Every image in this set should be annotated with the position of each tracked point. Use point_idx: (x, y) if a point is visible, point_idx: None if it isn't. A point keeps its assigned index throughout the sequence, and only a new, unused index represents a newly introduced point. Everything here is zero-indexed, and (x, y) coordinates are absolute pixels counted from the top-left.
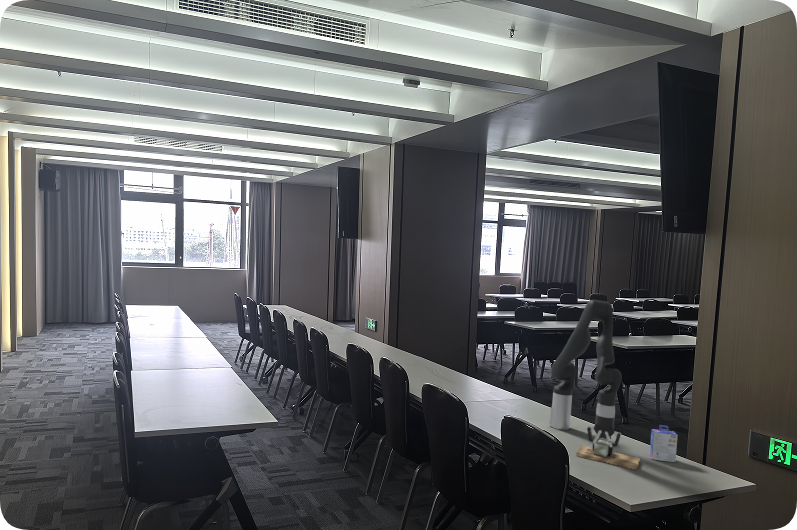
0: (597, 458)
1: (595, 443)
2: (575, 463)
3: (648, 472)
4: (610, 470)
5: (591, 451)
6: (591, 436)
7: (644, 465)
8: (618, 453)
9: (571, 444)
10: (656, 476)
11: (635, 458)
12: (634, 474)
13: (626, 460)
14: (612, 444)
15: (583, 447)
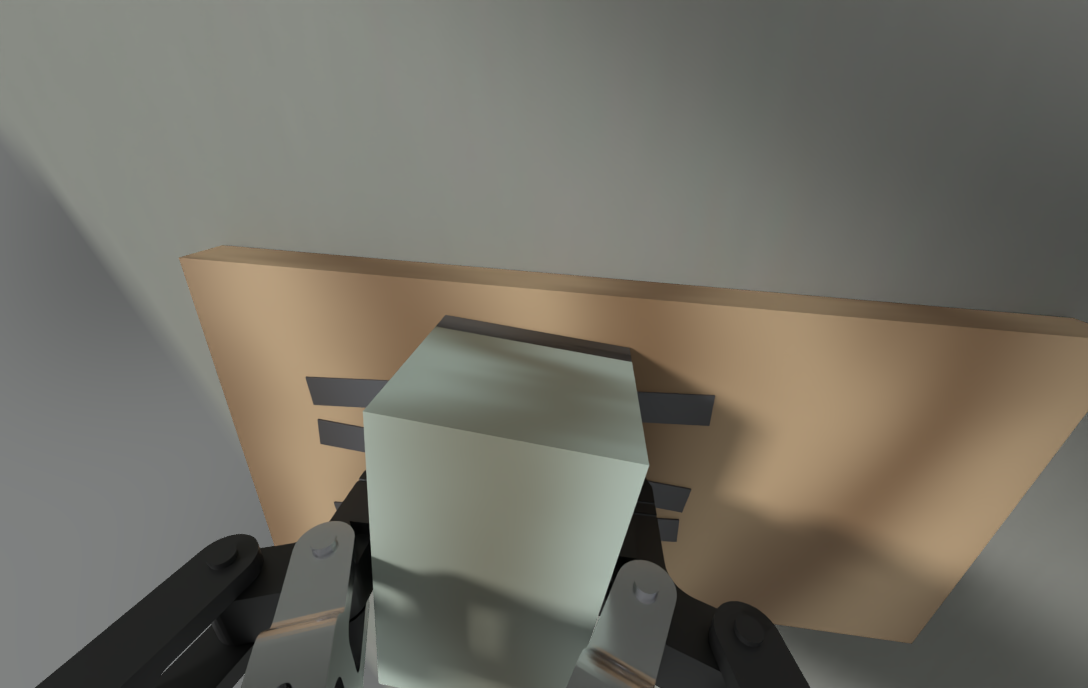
0: None
1: (379, 652)
2: (367, 655)
3: (1015, 606)
4: None
5: None
6: (193, 626)
7: (1081, 430)
8: (754, 312)
9: (27, 133)
10: (1064, 658)
11: (1022, 398)
12: (828, 681)
13: (826, 535)
14: (658, 675)
15: (243, 350)
